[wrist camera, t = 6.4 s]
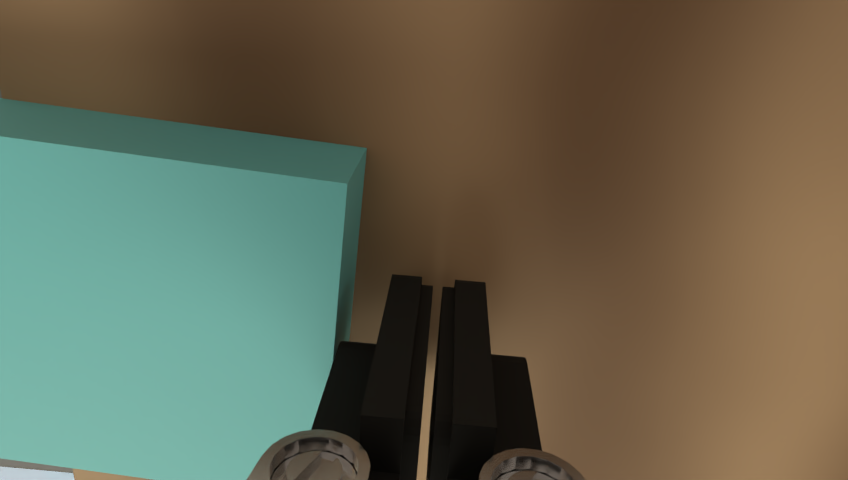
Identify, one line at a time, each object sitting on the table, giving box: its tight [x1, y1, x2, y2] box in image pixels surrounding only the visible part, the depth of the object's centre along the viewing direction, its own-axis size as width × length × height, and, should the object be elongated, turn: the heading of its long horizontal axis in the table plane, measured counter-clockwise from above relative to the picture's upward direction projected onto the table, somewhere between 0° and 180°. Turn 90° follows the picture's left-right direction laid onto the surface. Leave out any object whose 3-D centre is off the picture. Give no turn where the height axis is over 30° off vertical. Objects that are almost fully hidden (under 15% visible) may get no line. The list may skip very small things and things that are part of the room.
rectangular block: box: [0, 98, 367, 480], centre depth 11 cm, size 9×6×2 cm, turn 83°
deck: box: [0, 0, 848, 480], centre depth 14 cm, size 22×14×4 cm, turn 86°
